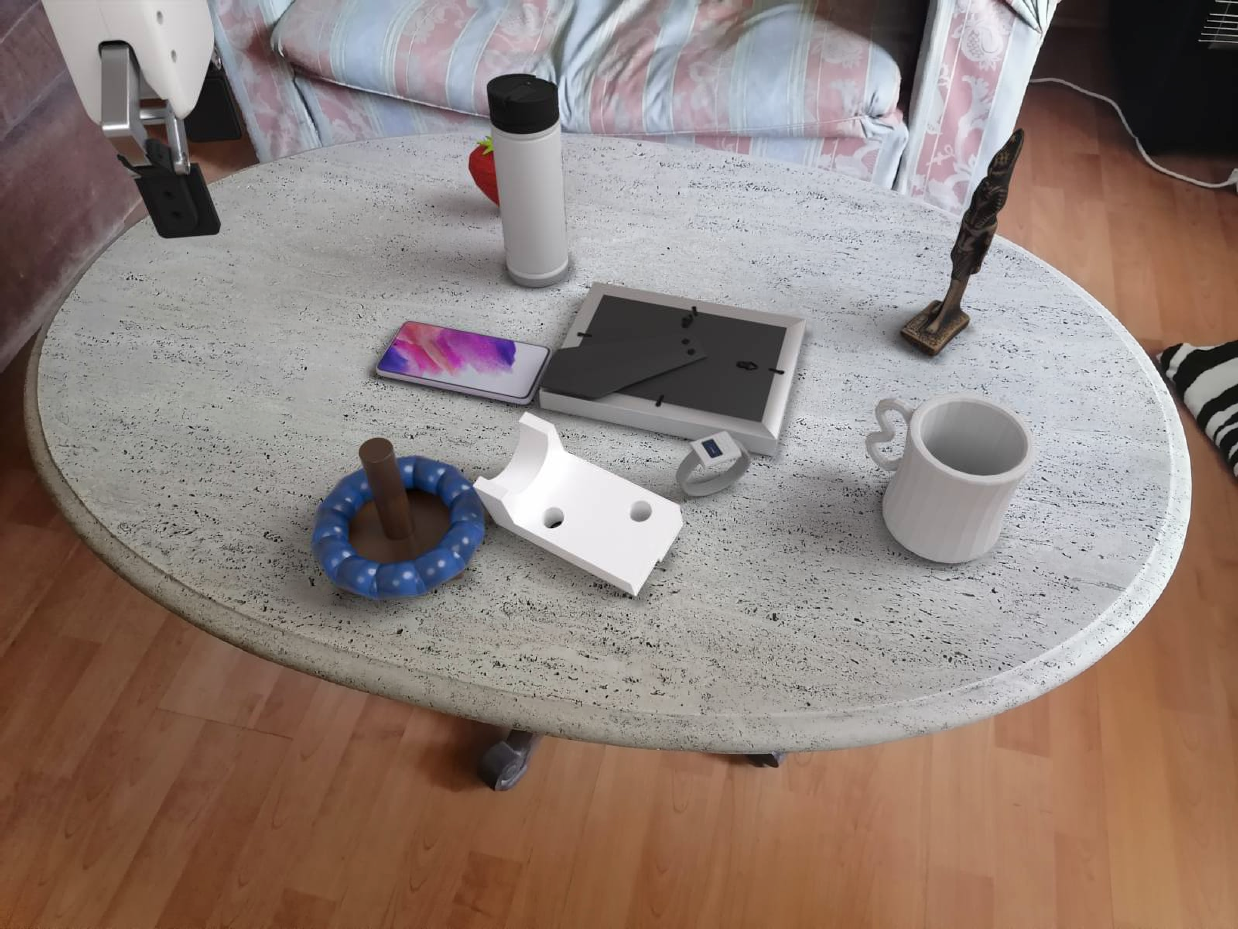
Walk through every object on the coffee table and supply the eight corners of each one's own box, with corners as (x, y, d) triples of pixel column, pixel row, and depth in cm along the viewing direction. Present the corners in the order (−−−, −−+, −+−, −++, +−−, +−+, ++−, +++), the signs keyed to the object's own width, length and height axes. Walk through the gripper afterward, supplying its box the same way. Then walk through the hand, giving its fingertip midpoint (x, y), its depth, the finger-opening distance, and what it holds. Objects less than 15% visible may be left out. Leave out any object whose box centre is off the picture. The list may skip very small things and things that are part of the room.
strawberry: (484, 191, 106) (473, 106, 98) (549, 199, 105) (543, 115, 97) (466, 221, 102) (453, 136, 95) (533, 230, 101) (525, 145, 93)
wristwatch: (736, 464, 79) (742, 423, 75) (752, 487, 78) (759, 446, 74) (669, 487, 78) (671, 446, 74) (684, 512, 76) (687, 471, 72)
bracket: (499, 528, 76) (472, 486, 70) (546, 458, 79) (525, 411, 72) (637, 601, 72) (622, 563, 65) (683, 524, 74) (674, 480, 67)
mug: (1020, 522, 75) (1064, 436, 67) (954, 589, 71) (993, 506, 63) (891, 439, 81) (918, 351, 73) (823, 496, 77) (844, 409, 69)
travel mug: (492, 274, 96) (467, 85, 81) (534, 243, 100) (518, 56, 84) (539, 298, 94) (522, 107, 78) (581, 265, 97) (572, 76, 82)
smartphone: (528, 401, 83) (371, 369, 86) (529, 408, 84) (374, 376, 86) (554, 346, 87) (405, 317, 90) (555, 353, 88) (406, 324, 91)
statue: (894, 341, 89) (949, 148, 74) (934, 305, 92) (993, 113, 77) (933, 362, 87) (997, 167, 72) (972, 324, 91) (1041, 131, 75)
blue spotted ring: (311, 616, 68) (301, 595, 66) (323, 480, 76) (315, 459, 74) (490, 594, 69) (486, 574, 67) (482, 463, 78) (478, 442, 76)
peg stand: (342, 594, 71) (306, 507, 63) (345, 502, 77) (313, 411, 69) (463, 578, 72) (442, 490, 64) (457, 487, 78) (437, 396, 70)
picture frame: (540, 408, 84) (773, 456, 80) (538, 385, 82) (777, 433, 78) (594, 298, 94) (804, 336, 90) (593, 274, 91) (808, 313, 87)
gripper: (37, -214, 47) (164, 112, 60) (-85, -85, 35) (104, 283, 48) (194, -221, 47) (286, 103, 60) (123, -96, 36) (255, 270, 49)
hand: (205, 183), depth 54 cm, fingers open, 9 cm apart
